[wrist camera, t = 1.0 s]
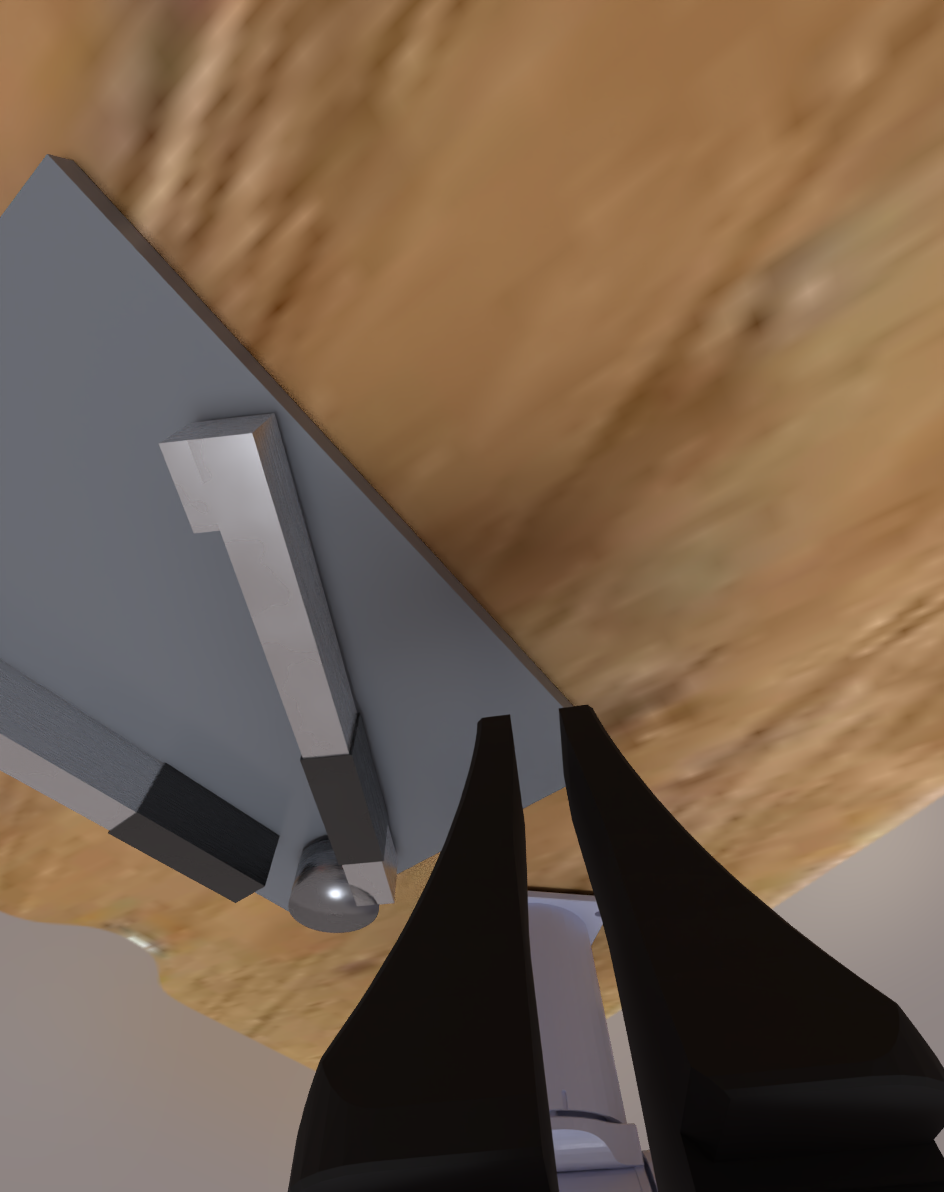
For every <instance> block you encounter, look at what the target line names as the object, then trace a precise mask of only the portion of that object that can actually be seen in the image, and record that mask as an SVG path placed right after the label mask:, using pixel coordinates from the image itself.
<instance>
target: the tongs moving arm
mask: <svg viewBox="0 0 944 1192" xmlns="http://www.w3.org/2000/svg"><path fill="white" fill-rule="evenodd" d="M159 446H160V449H161V451H162V454H163V456H164V459H165V461H166V464H167V466H168V469H169V471H170V474H171V477H172V479H173V482H174V484H175V487H176V489H177V492H178V494H179V497H180V499H181V502H182V505H183V507H184V510H185V512H186V515H187V517H188V520H189V522H190V525H191V528H192V530H193V533H203V532H212V531H220V532H221V535H222V538H223V541H224V543H225V546H226V549H227V551H228V554H229V557H230V560H231V562H232V565H233V568H234V571H235V573H236V576H237V579H238V582H239V584H240V587H241V590H242V593H243V595H244V598H245V601H246V604H247V606H248V609H249V612H250V615H251V617H252V620H253V623H254V626H255V628H256V631H257V634H258V636H259V639H260V642H261V645H262V647H263V650H264V653H265V656H266V658H267V661H268V664H269V667H270V669H271V672H272V675H273V678H274V680H275V683H276V686H277V689H278V691H279V694H280V697H281V700H282V702H283V705H284V708H285V710H286V713H287V716H288V719H289V721H290V724H291V727H292V730H293V732H294V735H295V738H296V741H297V743H298V746H299V749H300V752H301V754H302V755H301V758H300V762H301V764H302V767H303V770H304V773H305V775H306V778H307V781H308V783H309V786H310V789H311V792H312V794H313V797H314V800H315V802H316V805H317V808H318V810H319V813H320V816H321V819H322V821H323V824H324V827H325V829H326V832H327V835H328V838H329V839H328V840H323V841H320V842H317V843H314V844H312V845H311V846H309V847H308V848H306V849H305V850H304V851H303V852H302V854H301V856H300V859H299V863H298V867H297V871H296V875H295V879H294V883H293V887H292V891H291V895H290V899H289V903H288V908H289V912H290V914H291V915H292V917H293V918H294V919H295V920H296V921H298V922H299V923H301V924H302V925H304V926H306V927H308V928H311V929H314V930H318V931H322V932H330V933H343V932H350V931H355V930H358V929H361V928H363V927H365V926H367V925H369V924H370V923H372V922H373V921H374V920H375V918H376V917H377V915H378V911H379V904H389V903H394V899H395V888H396V876H397V865H398V858H397V855H396V851H395V847H394V844H393V840H392V837H391V833H390V829H389V826H388V817H389V816H388V812H387V808H386V805H385V801H384V797H383V794H382V790H381V786H380V783H379V779H378V775H377V772H376V768H375V764H374V761H373V757H372V753H371V750H370V746H369V742H368V739H367V735H366V731H365V728H364V724H363V720H362V717H361V713H360V712H359V713H357V710H356V706H355V703H354V699H353V696H352V692H351V688H350V685H349V681H348V678H347V674H346V670H345V667H344V663H343V659H342V656H341V652H340V649H339V645H338V641H337V638H336V634H335V631H334V627H333V623H332V620H331V616H330V612H329V609H328V605H327V602H326V598H325V594H324V591H323V587H322V584H321V580H320V576H319V573H318V569H317V565H316V562H315V558H314V555H313V551H312V547H311V544H310V540H309V537H308V533H307V529H306V526H305V522H304V518H303V515H302V511H301V508H300V504H299V500H298V497H297V493H296V490H295V486H294V482H293V479H292V475H291V471H290V468H289V464H288V461H287V457H286V453H285V450H284V446H283V443H282V439H281V435H280V432H279V428H278V424H277V421H276V417H275V414H274V413H272V414H263V415H254V416H245V417H236V418H227V419H218V420H209V421H200V422H191V423H189V424H188V425H186V426H185V427H183V428H182V429H180V430H179V431H177V432H176V433H174V434H172V435H171V436H169V437H168V438H166V439H165V440H163V441H162V442H160V443H159Z"/></svg>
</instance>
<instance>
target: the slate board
mask: <svg viewBox="0 0 944 1192" xmlns="http://www.w3.org/2000/svg"><path fill="white" fill-rule="evenodd" d="M272 413H274V414H275V417H276V421H277V424H278V428H279V432H280V435H281V439H282V443H283V446H284V450H285V453H286V457H287V461H288V464H289V468H290V471H291V475H292V479H293V482H294V486H295V490H296V493H297V497H298V500H299V504H300V508H301V511H302V515H303V518H304V522H305V526H306V529H307V533H308V537H309V540H310V544H311V547H312V551H313V555H314V558H315V562H316V565H317V569H318V573H319V576H320V580H321V584H322V587H323V591H324V594H325V598H326V602H327V605H328V609H329V612H330V616H331V620H332V623H333V627H334V631H335V634H336V638H337V641H338V645H339V649H340V652H341V656H342V659H343V663H344V667H345V670H346V674H347V678H348V681H349V685H350V688H351V692H352V696H353V699H354V703H355V706H356V710H357V713H359V712H360V713H361V717H362V720H363V724H364V728H365V731H366V735H367V739H368V742H369V746H370V750H371V753H372V757H373V761H374V764H375V768H376V772H377V775H378V779H379V783H380V786H381V790H382V794H383V797H384V801H385V805H386V808H387V812H388V816H389V817H388V826H389V829H390V833H391V837H392V840H393V844H394V847H395V851H396V855H397V858H398V865H397V874H398V873H400V872H402V871H404V870H406V869H408V868H410V867H412V866H414V865H416V864H418V863H419V862H421V861H423V860H425V859H427V858H429V857H431V856H433V855H435V854H437V853H439V852H441V850H442V848H443V846H444V843H445V841H446V838H447V835H448V832H449V830H450V827H451V824H452V822H453V819H454V816H455V814H456V811H457V808H458V805H459V802H460V799H461V796H462V792H463V789H464V786H465V782H466V779H467V775H468V772H469V768H470V764H471V760H472V756H473V751H474V746H475V740H476V734H477V722H478V721H479V720H480V719H481V718H484V717H492V716H500V715H508V714H510V717H511V724H512V732H513V739H514V747H515V754H516V762H517V769H518V776H519V784H520V792H521V799H522V807H523V808H525V807H527V806H529V805H531V804H533V803H535V802H537V801H539V800H541V799H542V798H544V797H546V796H548V795H550V794H552V793H554V792H556V791H558V790H560V789H562V788H564V787H566V785H565V780H564V774H563V761H562V747H561V733H560V720H559V708H565V707H573V705H572V704H571V703H570V702H569V701H568V700H567V699H566V697H565V696H564V695H563V694H562V693H561V692H560V691H559V690H558V689H557V688H556V687H555V685H554V684H553V683H552V682H551V681H550V680H549V679H548V678H547V677H546V676H545V675H544V673H543V672H542V671H541V670H540V669H539V668H538V667H537V666H536V665H535V664H534V663H533V661H532V660H531V659H530V658H529V657H528V656H527V655H526V654H525V653H524V652H523V651H522V649H521V648H520V647H519V646H518V645H517V644H516V643H515V642H514V641H513V640H512V639H511V637H510V636H509V635H508V634H507V633H506V632H505V631H504V630H503V629H502V628H501V627H500V625H499V624H498V623H497V622H496V621H495V620H494V619H493V618H492V617H491V616H490V615H489V613H488V612H487V611H486V610H485V609H484V608H483V607H482V606H481V605H480V604H479V603H478V602H477V600H476V599H475V598H474V597H473V596H472V595H471V594H470V593H469V592H468V591H467V590H466V588H465V587H464V586H463V585H462V584H461V583H460V582H459V581H458V580H457V579H456V578H455V576H454V575H453V574H452V573H451V572H450V571H449V570H448V569H447V568H446V567H445V566H444V564H443V563H442V562H441V561H440V560H439V559H438V558H437V557H436V556H435V555H434V554H433V552H432V551H431V550H430V549H429V548H428V547H427V546H426V545H425V544H424V543H423V542H422V540H421V539H420V538H419V537H418V536H417V535H416V534H415V533H414V532H413V531H412V530H411V528H410V527H409V526H408V525H407V524H406V523H405V522H404V521H403V520H402V519H401V518H400V516H399V515H398V514H397V513H396V512H395V511H394V510H393V509H392V508H391V507H390V506H389V504H388V503H387V502H386V501H385V500H384V499H383V498H382V497H381V496H380V495H379V494H378V492H377V491H376V490H375V489H374V488H373V487H372V486H371V485H370V484H369V483H368V482H367V480H366V479H365V478H364V477H363V476H362V475H361V474H360V473H359V472H358V471H357V470H356V468H355V467H354V466H353V465H352V464H351V463H350V462H349V461H348V460H347V459H346V458H345V456H344V455H343V454H342V453H341V452H340V451H339V450H338V449H337V448H336V447H335V446H334V444H333V443H332V442H331V441H330V440H329V439H328V438H327V437H326V436H325V435H324V434H323V432H322V431H321V430H320V429H319V428H318V427H317V426H316V425H315V424H314V423H313V422H312V420H311V419H310V418H309V417H308V416H307V415H306V414H305V413H304V412H303V411H302V410H301V408H300V407H299V406H298V405H297V404H296V403H295V402H294V401H293V400H292V399H291V398H290V396H289V395H288V394H287V393H286V392H285V391H284V390H283V389H282V388H281V387H280V386H279V384H278V383H277V382H276V381H275V380H274V379H273V378H272V377H271V376H270V375H269V374H268V373H267V371H266V370H265V369H264V368H263V367H262V366H261V365H260V364H259V363H258V362H257V361H256V359H255V358H254V357H253V356H252V355H251V354H250V353H249V352H248V351H247V350H246V349H245V347H244V346H243V345H242V344H241V343H240V342H239V341H238V340H237V339H236V338H235V337H234V335H233V334H232V333H231V332H230V331H229V330H228V329H227V328H226V327H225V326H224V325H223V323H222V322H221V321H220V320H219V319H218V318H217V317H216V316H215V315H214V314H213V313H212V311H211V310H210V309H209V308H208V307H207V306H206V305H205V304H204V303H203V302H202V301H201V299H200V298H199V297H198V296H197V295H196V294H195V293H194V292H193V291H192V290H191V289H190V287H189V286H188V285H187V284H186V283H185V282H184V281H183V280H182V279H181V278H180V277H179V275H178V274H177V273H176V272H175V271H174V270H173V269H172V268H171V267H170V266H169V265H168V263H167V262H166V261H165V260H164V259H163V258H162V257H161V256H160V255H159V254H158V253H157V251H156V250H155V249H154V248H153V247H152V246H151V245H150V244H149V243H148V242H147V241H146V239H145V238H144V237H143V236H142V235H141V234H140V233H139V232H138V231H137V230H136V229H135V227H134V226H133V225H132V224H131V223H130V222H129V221H128V220H127V219H126V218H125V217H124V215H123V214H122V213H121V212H120V211H119V210H118V209H117V208H116V207H115V206H114V205H113V203H112V202H111V201H110V200H109V199H108V198H107V197H106V196H105V195H104V194H103V193H102V191H101V190H100V189H99V188H98V187H97V186H96V185H95V184H94V183H93V182H92V181H91V179H90V178H89V177H88V176H87V175H86V174H85V173H84V172H83V171H82V170H81V169H80V167H79V166H78V165H77V164H76V163H75V162H74V161H73V160H69V159H65V158H61V157H57V156H53V155H49V154H47V155H46V156H45V158H44V159H43V160H42V162H41V163H40V164H39V166H38V167H37V168H36V170H35V171H34V173H33V174H32V175H31V177H30V178H29V179H28V181H27V182H26V183H25V185H24V186H23V187H22V189H21V190H20V191H19V193H18V194H17V196H16V197H15V198H14V200H13V201H12V202H11V204H10V205H9V206H8V208H7V209H6V210H5V212H4V213H3V214H2V216H1V217H0V659H1V660H2V661H4V662H6V663H7V664H9V665H10V666H12V667H13V668H15V669H16V670H18V671H20V672H21V673H23V674H24V675H26V676H27V677H29V678H31V679H32V680H34V681H35V682H37V683H38V684H40V685H42V686H43V687H45V688H46V689H48V690H49V691H51V692H53V693H54V694H56V695H57V696H59V697H60V698H62V699H64V700H65V701H67V702H68V703H70V704H71V705H73V706H75V707H76V708H78V709H79V710H81V711H82V712H84V713H86V714H87V715H89V716H90V717H92V718H93V719H95V720H96V721H98V722H100V723H101V724H103V725H104V726H106V727H107V728H109V729H111V730H112V731H114V732H115V733H117V734H118V735H120V736H122V737H123V738H125V739H126V740H128V741H129V742H131V743H133V744H134V745H136V746H137V747H139V748H140V749H142V750H144V751H145V752H147V753H148V754H150V755H151V756H153V757H155V758H156V759H158V760H159V761H161V762H162V763H167V764H169V765H170V766H172V767H174V768H175V769H177V770H178V771H180V772H181V773H183V774H184V775H186V776H188V777H189V778H191V779H192V780H194V781H195V782H197V783H199V784H200V785H202V786H203V787H205V788H206V789H208V790H209V791H211V792H213V793H214V794H216V795H217V796H219V797H220V798H222V799H224V800H225V801H227V802H228V803H230V804H231V805H233V806H235V807H236V808H238V809H239V810H241V811H242V812H244V813H245V814H247V815H249V816H250V817H252V818H253V819H255V820H256V821H258V822H260V823H261V824H263V825H264V826H266V827H267V828H269V829H270V830H272V831H274V832H275V833H277V834H278V835H280V837H279V840H278V844H277V847H276V851H275V854H274V857H273V861H272V864H271V868H270V871H269V874H268V878H267V881H266V885H265V887H263V888H261V889H259V890H258V891H256V892H255V893H257V894H259V895H261V896H263V897H264V898H266V899H268V900H270V901H271V902H273V903H275V904H277V905H278V906H280V907H282V908H284V909H285V910H287V911H289V908H288V903H289V899H290V895H291V891H292V887H293V883H294V879H295V875H296V871H297V867H298V863H299V859H300V856H301V854H302V852H303V851H304V850H305V849H306V848H308V847H309V846H311V845H312V844H314V843H317V842H320V841H323V840H328V839H329V838H328V835H327V832H326V829H325V827H324V824H323V821H322V819H321V816H320V813H319V810H318V808H317V805H316V802H315V800H314V797H313V794H312V792H311V789H310V786H309V783H308V781H307V778H306V775H305V773H304V770H303V767H302V764H301V762H300V758H301V755H302V754H301V752H300V749H299V746H298V743H297V741H296V738H295V735H294V732H293V730H292V727H291V724H290V721H289V719H288V716H287V713H286V710H285V708H284V705H283V702H282V700H281V697H280V694H279V691H278V689H277V686H276V683H275V680H274V678H273V675H272V672H271V669H270V667H269V664H268V661H267V658H266V656H265V653H264V650H263V647H262V645H261V642H260V639H259V636H258V634H257V631H256V628H255V626H254V623H253V620H252V617H251V615H250V612H249V609H248V606H247V604H246V601H245V598H244V595H243V593H242V590H241V587H240V584H239V582H238V579H237V576H236V573H235V571H234V568H233V565H232V562H231V560H230V557H229V554H228V551H227V549H226V546H225V543H224V541H223V538H222V535H221V532H220V531H212V532H203V533H193V530H192V528H191V525H190V522H189V520H188V517H187V515H186V512H185V510H184V507H183V505H182V502H181V499H180V497H179V494H178V492H177V489H176V487H175V484H174V482H173V479H172V477H171V474H170V471H169V469H168V466H167V464H166V461H165V459H164V456H163V454H162V451H161V449H160V446H159V443H160V442H162V441H163V440H165V439H166V438H168V437H169V436H171V435H172V434H174V433H176V432H177V431H179V430H180V429H182V428H183V427H185V426H186V425H188V424H189V423H191V422H200V421H209V420H218V419H227V418H236V417H245V416H254V415H263V414H272Z"/></svg>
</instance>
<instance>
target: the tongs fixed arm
mask: <svg viewBox="0 0 944 1192" xmlns="http://www.w3.org/2000/svg"><path fill="white" fill-rule="evenodd" d="M0 770H1V771H2V772H4V773H6V774H8V775H10V776H12V777H13V778H15V779H17V780H19V781H21V782H22V783H24V784H26V785H28V786H30V787H32V788H33V789H35V790H37V791H39V792H41V793H42V794H44V795H46V796H48V797H50V798H52V799H53V800H55V801H57V802H59V803H61V804H62V805H64V806H66V807H68V808H70V809H72V810H73V811H75V812H77V813H79V814H81V815H82V816H84V817H86V818H88V819H90V820H91V821H93V822H95V823H97V824H99V825H101V826H102V827H104V828H106V829H108V830H109V832H108V833H109V834H110V835H112V836H114V837H116V838H118V839H120V840H121V841H123V842H125V843H127V844H129V845H131V846H132V847H134V848H136V849H138V850H140V851H142V852H143V853H145V854H147V855H149V856H151V857H152V858H154V859H156V860H158V861H160V862H162V863H163V864H165V865H167V866H169V867H171V868H173V869H174V870H176V871H178V872H180V873H182V874H184V875H185V876H187V877H189V878H191V879H193V880H194V881H196V882H198V883H200V884H202V885H204V886H205V887H207V888H209V889H211V890H213V891H215V892H216V893H218V894H220V895H222V896H224V897H226V898H227V899H229V900H231V901H233V902H235V903H236V902H238V901H240V900H242V899H243V898H245V897H247V896H249V895H251V894H252V893H254V892H256V891H258V890H259V889H261V888H263V887H265V885H266V881H267V878H268V874H269V871H270V868H271V864H272V861H273V857H274V854H275V851H276V847H277V844H278V840H279V837H280V835H278V834H277V833H275V832H274V831H272V830H270V829H269V828H267V827H266V826H264V825H263V824H261V823H260V822H258V821H256V820H255V819H253V818H252V817H250V816H249V815H247V814H245V813H244V812H242V811H241V810H239V809H238V808H236V807H235V806H233V805H231V804H230V803H228V802H227V801H225V800H224V799H222V798H220V797H219V796H217V795H216V794H214V793H213V792H211V791H209V790H208V789H206V788H205V787H203V786H202V785H200V784H199V783H197V782H195V781H194V780H192V779H191V778H189V777H188V776H186V775H184V774H183V773H181V772H180V771H178V770H177V769H175V768H174V767H172V766H170V765H169V764H167V763H162V762H161V761H159V760H158V759H156V758H155V757H153V756H151V755H150V754H148V753H147V752H145V751H144V750H142V749H140V748H139V747H137V746H136V745H134V744H133V743H131V742H129V741H128V740H126V739H125V738H123V737H122V736H120V735H118V734H117V733H115V732H114V731H112V730H111V729H109V728H107V727H106V726H104V725H103V724H101V723H100V722H98V721H96V720H95V719H93V718H92V717H90V716H89V715H87V714H86V713H84V712H82V711H81V710H79V709H78V708H76V707H75V706H73V705H71V704H70V703H68V702H67V701H65V700H64V699H62V698H60V697H59V696H57V695H56V694H54V693H53V692H51V691H49V690H48V689H46V688H45V687H43V686H42V685H40V684H38V683H37V682H35V681H34V680H32V679H31V678H29V677H27V676H26V675H24V674H23V673H21V672H20V671H18V670H16V669H15V668H13V667H12V666H10V665H9V664H7V663H6V662H4V661H2V660H1V659H0Z"/></svg>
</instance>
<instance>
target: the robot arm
mask: <svg viewBox="0 0 944 1192" xmlns="http://www.w3.org/2000/svg"><path fill="white" fill-rule="evenodd" d="M559 720H560V733H561V747H562V761H563V774H564V780H565V785H566V790H567V796H568V801H569V806H570V811H571V816H572V821H573V825H574V828H575V831H576V835H577V838H578V842H579V845H580V848H581V852H582V855H583V859H584V862H585V865H586V869H587V872H588V875H589V879H590V882H591V885H592V889H593V892H594V895H595V896H593V895H579V894H566V893H553V892H540V891H528V890H527V864H526V838H525V822H524V814H523V807H522V799H521V792H520V784H519V776H518V769H517V762H516V754H515V747H514V739H513V732H512V724H511V717H510V714H508V715H500V716H492V717H484V718H481V719H480V720H479V721H478V722H477V734H476V740H475V746H474V751H473V756H472V760H471V764H470V768H469V772H468V775H467V779H466V782H465V786H464V789H463V792H462V796H461V799H460V802H459V805H458V808H457V811H456V814H455V816H454V819H453V822H452V824H451V827H450V830H449V832H448V835H447V838H446V841H445V843H444V846H443V848H442V850H441V853H440V855H439V857H438V860H437V862H436V864H435V867H434V869H433V871H432V873H431V875H430V878H429V880H428V882H427V884H426V886H425V888H424V890H423V892H422V894H421V896H420V898H419V900H418V902H417V904H416V906H415V908H414V910H413V912H412V914H411V916H410V918H409V920H408V922H407V923H406V925H405V927H404V929H403V931H402V933H401V934H400V936H399V938H398V940H397V942H396V943H395V945H394V947H393V948H392V950H391V952H390V953H389V955H388V957H387V958H386V960H385V962H384V963H383V965H382V967H381V968H380V970H379V972H378V973H377V975H376V977H375V978H374V980H373V982H372V983H371V985H370V986H369V988H368V990H367V991H366V993H365V994H364V996H363V997H362V999H361V1001H360V1002H359V1003H358V1005H357V1006H356V1008H355V1009H354V1011H353V1012H352V1014H351V1015H350V1017H349V1018H348V1020H347V1021H346V1022H345V1024H344V1025H343V1027H342V1028H341V1030H340V1031H339V1033H338V1034H337V1036H336V1037H335V1038H334V1040H333V1041H332V1043H331V1044H330V1046H329V1047H328V1049H327V1050H326V1052H325V1053H324V1054H323V1056H322V1058H321V1060H320V1062H319V1065H318V1067H317V1070H316V1073H315V1076H314V1079H313V1082H312V1085H311V1088H310V1091H309V1094H308V1098H307V1101H306V1104H305V1107H304V1111H303V1115H302V1119H301V1123H300V1126H299V1130H298V1135H297V1140H296V1146H295V1152H294V1158H293V1164H292V1170H291V1176H290V1182H289V1188H288V1192H944V1157H943V1155H942V1154H941V1152H940V1150H939V1149H938V1147H937V1144H936V1143H935V1141H934V1139H935V1137H936V1136H937V1135H938V1134H939V1133H940V1131H941V1130H942V1129H943V1128H944V1068H943V1066H942V1065H941V1063H940V1061H939V1060H938V1058H937V1057H936V1055H935V1054H934V1052H933V1051H932V1050H931V1048H930V1047H929V1046H928V1044H927V1043H926V1041H925V1040H924V1038H923V1037H922V1036H921V1034H920V1033H919V1032H918V1030H917V1029H916V1028H915V1026H914V1025H913V1024H912V1022H911V1021H910V1020H909V1018H908V1017H907V1016H906V1014H905V1013H904V1012H903V1010H902V1009H901V1008H900V1007H899V1005H898V1004H897V1003H896V1002H894V1001H893V1000H891V999H890V998H888V997H887V996H886V995H884V994H882V993H881V992H880V991H878V990H877V989H875V988H874V987H873V986H871V985H870V984H868V983H867V982H866V981H864V980H863V979H861V978H860V977H858V976H857V975H856V974H854V973H853V972H852V971H850V970H849V969H848V968H846V967H845V966H843V965H842V964H841V963H839V962H838V961H837V960H835V959H834V958H833V957H831V956H829V955H828V954H827V953H826V952H825V951H823V950H822V949H821V948H819V947H818V946H817V945H815V944H814V943H813V942H812V941H810V940H809V939H808V938H807V937H805V936H804V935H803V934H801V933H800V932H798V931H797V930H796V929H795V928H793V927H792V926H791V925H790V924H789V923H787V922H786V921H785V920H784V919H783V918H781V917H780V916H779V915H778V914H777V913H776V912H774V911H773V910H772V909H771V908H770V907H768V906H767V905H766V904H765V903H764V902H763V901H761V900H760V899H759V898H758V897H757V896H755V895H754V894H753V893H752V892H751V891H750V890H748V889H747V888H746V887H745V886H744V885H742V884H741V883H740V882H739V881H738V880H737V879H736V878H735V877H734V876H733V875H731V874H730V873H729V872H728V871H727V870H726V869H725V868H724V867H723V866H722V865H721V864H720V863H719V862H718V861H716V860H715V859H714V858H713V857H712V856H711V855H710V854H709V853H708V852H707V851H706V850H705V849H704V848H703V847H702V846H701V845H700V844H699V843H698V842H697V841H696V840H695V839H694V838H693V837H692V836H691V835H690V834H689V833H688V832H687V831H686V830H685V829H684V827H683V826H682V825H681V824H680V823H679V822H678V821H677V820H676V819H675V818H674V817H673V816H672V814H671V813H670V812H669V811H668V810H667V809H666V808H665V807H664V805H663V804H662V803H661V802H660V801H659V800H658V799H657V797H656V796H655V795H654V794H653V793H652V791H651V790H650V789H649V788H648V787H647V785H646V784H645V783H644V782H643V780H642V779H641V778H640V777H639V775H638V774H637V773H636V772H635V770H634V769H633V768H632V766H631V765H630V764H629V763H628V761H627V760H626V759H625V757H624V756H623V755H622V753H621V752H620V750H619V749H618V748H617V746H616V745H615V743H614V742H613V741H612V739H611V738H610V736H609V735H608V733H607V732H606V730H605V729H604V727H603V725H602V724H601V722H600V720H599V719H598V717H597V715H596V714H595V712H594V710H593V708H591V707H590V706H588V705H581V706H573V707H565V708H559ZM602 925H603V926H604V930H605V934H606V937H607V941H608V945H609V949H610V954H611V959H612V963H613V968H614V973H615V978H616V983H617V987H618V992H619V997H620V1002H621V1007H622V1011H623V1016H624V1021H625V1026H626V1031H627V1035H628V1041H629V1046H630V1051H631V1056H632V1061H633V1065H634V1071H635V1076H636V1081H637V1086H638V1091H639V1096H640V1101H641V1106H642V1111H643V1116H644V1121H645V1127H646V1132H647V1137H648V1142H649V1148H650V1150H644V1151H641V1146H640V1142H639V1137H638V1132H637V1128H636V1125H635V1124H627V1122H626V1117H625V1111H624V1107H623V1101H622V1097H621V1092H620V1087H619V1082H618V1077H617V1072H616V1067H615V1063H614V1058H613V1052H612V1047H611V1042H610V1038H609V1033H608V1028H607V1023H606V1018H605V1013H604V1008H603V1003H602V998H601V993H600V988H599V983H598V979H597V974H596V969H595V964H594V959H593V954H592V949H591V945H592V943H593V941H594V939H595V938H596V936H597V934H598V932H599V930H600V928H601V926H602Z"/></svg>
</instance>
